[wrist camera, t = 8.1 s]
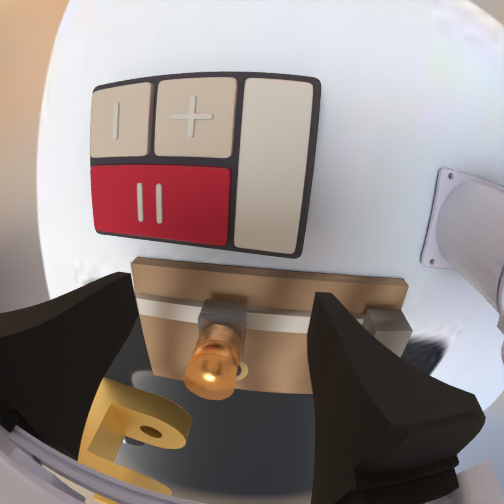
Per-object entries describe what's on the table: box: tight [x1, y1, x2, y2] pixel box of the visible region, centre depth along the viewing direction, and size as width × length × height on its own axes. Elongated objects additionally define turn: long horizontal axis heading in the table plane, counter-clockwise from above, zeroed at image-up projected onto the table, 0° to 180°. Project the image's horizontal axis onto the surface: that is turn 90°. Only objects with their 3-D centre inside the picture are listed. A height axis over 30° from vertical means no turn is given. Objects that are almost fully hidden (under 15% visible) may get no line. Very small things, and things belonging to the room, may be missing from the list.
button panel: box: [90, 72, 321, 259], centre depth 17 cm, size 11×4×15 cm
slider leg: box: [184, 299, 247, 400], centre depth 19 cm, size 3×9×7 cm, turn 177°
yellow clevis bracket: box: [77, 377, 192, 504], centre depth 24 cm, size 20×9×16 cm, turn 81°
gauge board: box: [131, 257, 413, 394], centre depth 22 cm, size 22×13×5 cm, turn 87°
